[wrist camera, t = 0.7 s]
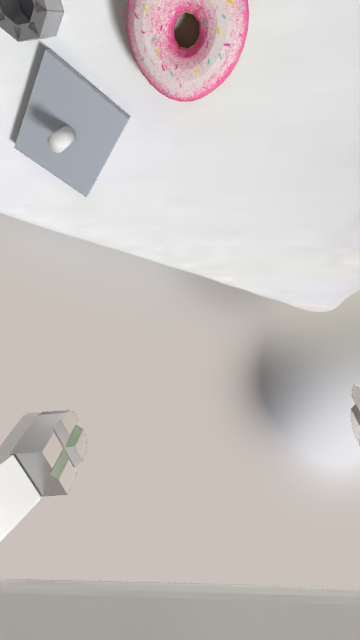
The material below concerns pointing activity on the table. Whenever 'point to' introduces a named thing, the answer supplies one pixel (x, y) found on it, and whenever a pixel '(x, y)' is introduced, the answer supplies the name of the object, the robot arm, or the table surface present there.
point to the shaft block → (69, 124)
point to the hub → (45, 20)
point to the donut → (196, 61)
